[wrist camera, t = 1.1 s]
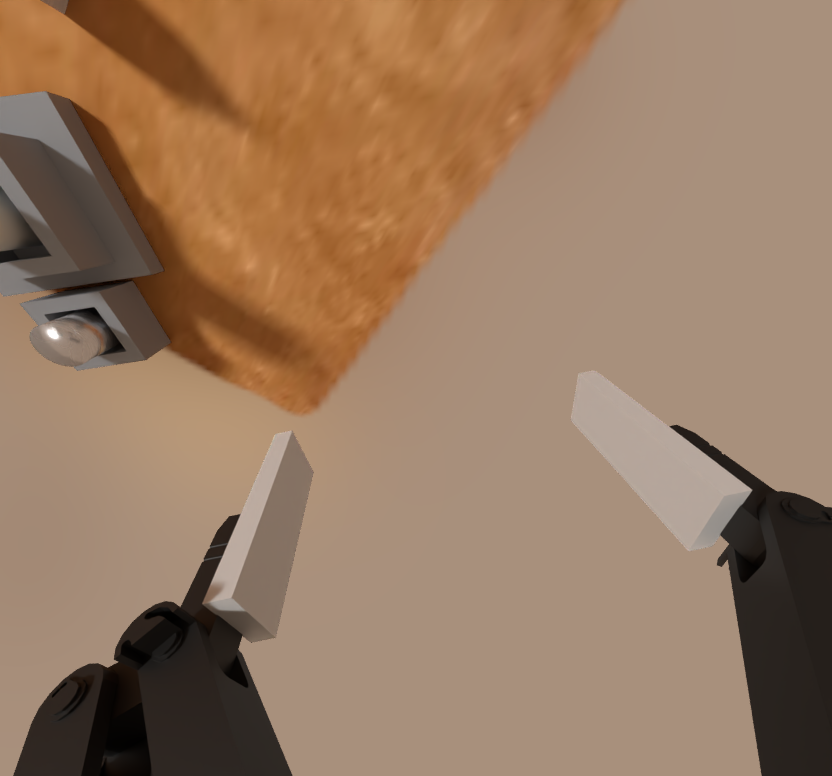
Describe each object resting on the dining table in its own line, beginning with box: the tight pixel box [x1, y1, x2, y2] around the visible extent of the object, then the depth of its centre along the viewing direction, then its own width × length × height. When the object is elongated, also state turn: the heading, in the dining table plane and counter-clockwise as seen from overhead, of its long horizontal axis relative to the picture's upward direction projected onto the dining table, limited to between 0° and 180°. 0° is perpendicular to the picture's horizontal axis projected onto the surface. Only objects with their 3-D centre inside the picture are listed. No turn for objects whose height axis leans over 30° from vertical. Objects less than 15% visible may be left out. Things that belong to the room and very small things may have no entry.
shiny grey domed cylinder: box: [30, 307, 120, 367], centre depth 28 cm, size 4×4×5 cm
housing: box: [0, 91, 171, 371], centre depth 26 cm, size 20×14×6 cm
